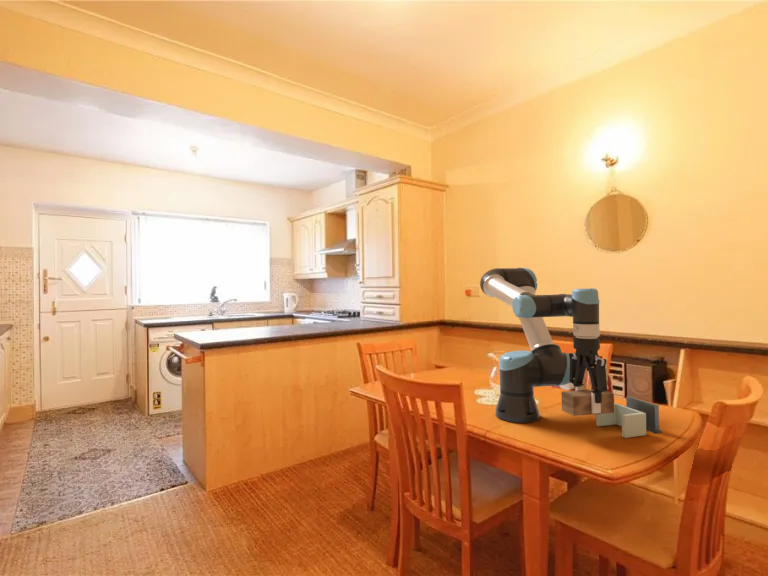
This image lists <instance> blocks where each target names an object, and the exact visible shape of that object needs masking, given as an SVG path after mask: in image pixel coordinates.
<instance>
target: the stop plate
mask: <svg viewBox="0 0 768 576" xmlns="http://www.w3.org/2000/svg"><path fill="white" fill-rule="evenodd" d="M625 399H626V403H625V406H626V407H629V408H632V409H635V410H638V411H641V412H643V413H646V432H647V431H648V432H650V433H652V434H655V435H656V434H663V433H662V429H661V428H660V405H659V404H657V403H654V402H650V401H647V400H644V399H641V398H638V397H635V396H631V395H626V398H625Z"/></svg>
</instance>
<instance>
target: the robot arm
mask: <svg viewBox="0 0 768 576" xmlns="http://www.w3.org/2000/svg"><path fill="white" fill-rule="evenodd" d="M537 282H538V278H537V275H536V274H535V272H534V271H533V270H532V269H530V268H526V267H517V268H516V267H507V268H505V267H503V268H499V267H497V268H492V269H489V270H487V271H486V272H485V273H483V274H482V276H481V277H480V280H479V286H480V289H481V291H482V292H483V293H484V294H485V295H486V296H488V297H489V298H496V299H498V300H499V301H501V302H502V303H505V304H506V305H508V306H510V307H511V308H512V311H513V313H514V315H515V317H517V318H518V319H519V321H520V324H521V327H522V330H523V333H524V335H525V337H526V340H527V342H528V345H529V348H530V350H525V349H524V350H513V351H509V352H505V353H503V354H501V356H500V358H499V364H498V365H499V366H498V369H499V390H500V391H499V393H500V394H499V397H498V401H497V403H496V406H495V417H497V418H498V419H500V420H503V421H505V422H510V423H517V424H518V423H519V424H525V423H533V422H537V421H538V420H540V411H539V407H538V405H537V402H536V398H535V395H534V392H535V391H534V388H538V387H540V388H541V387H552V386H560V385H566V384H568V383H569V382H570V383H573V385H574V391H578V390H585V386H584V383H583V382H584V378H585V373H586V371H588V376H589V377H590V380H591V384H592V388H593V391H591V405H592V413H593V415H596V413H601V402H602V392H606V391H607V380H606V368H605V366H606V358H601V357H600V356H599V352H598V351H599V350H600V349H601V343H600V341H601V339H600V338H599V337H601V336H600V335H601V333H600V332H601V331H600V330H601V329H600V299H599V291H598V289H596V288H574V289H572V293H571V294H570V293H569V294H567V293H558V294H536V291H537V289H538V283H537ZM555 317H560V318H561V317H571V318H572V332H573V333H572V334H573V336H574V337H573V338H572V339H573V343H572V345H573V349H574V350H575V352H572V353H571V352H570V353H567V352H563V351H562V349H561V347H560V345H559V344H557V343H554V341H553V338H552V336H551V334H550V331H549V330H548V327H547V325H546V322H545V320H544V318H555ZM593 366H594V367H593ZM573 378H574V379H573Z"/></svg>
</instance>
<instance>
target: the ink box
mask: <svg viewBox="0 0 768 576" xmlns="http://www.w3.org/2000/svg"><path fill="white" fill-rule="evenodd" d="M573 379H574V378H573ZM551 387H553V388H557V389H562V390H566V391H572V390H573V389H574V390H575V386H574V385H573V383H570V382H569V383H568V384H566V385H560V386H551Z"/></svg>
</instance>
